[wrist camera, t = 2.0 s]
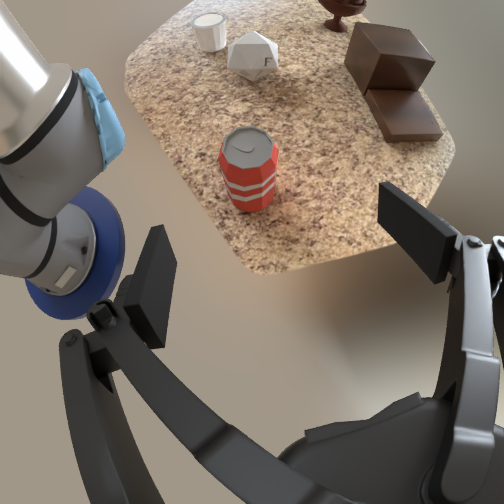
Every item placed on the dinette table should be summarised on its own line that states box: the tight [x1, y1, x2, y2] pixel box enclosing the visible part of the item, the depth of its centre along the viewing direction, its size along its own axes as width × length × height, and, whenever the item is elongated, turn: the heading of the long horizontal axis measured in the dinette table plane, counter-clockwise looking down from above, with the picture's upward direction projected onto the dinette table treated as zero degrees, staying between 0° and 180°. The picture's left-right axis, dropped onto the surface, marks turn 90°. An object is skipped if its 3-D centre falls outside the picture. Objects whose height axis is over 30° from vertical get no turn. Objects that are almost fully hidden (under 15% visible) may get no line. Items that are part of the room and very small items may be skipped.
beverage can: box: [218, 126, 279, 212], centre depth 33 cm, size 6×6×12 cm
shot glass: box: [191, 12, 226, 52], centre depth 42 cm, size 7×7×7 cm
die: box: [227, 30, 278, 82], centre depth 39 cm, size 8×9×10 cm
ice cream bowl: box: [318, 0, 367, 32], centre depth 39 cm, size 11×11×15 cm
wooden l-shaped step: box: [344, 22, 443, 143], centre depth 36 cm, size 20×12×11 cm, turn 11°
